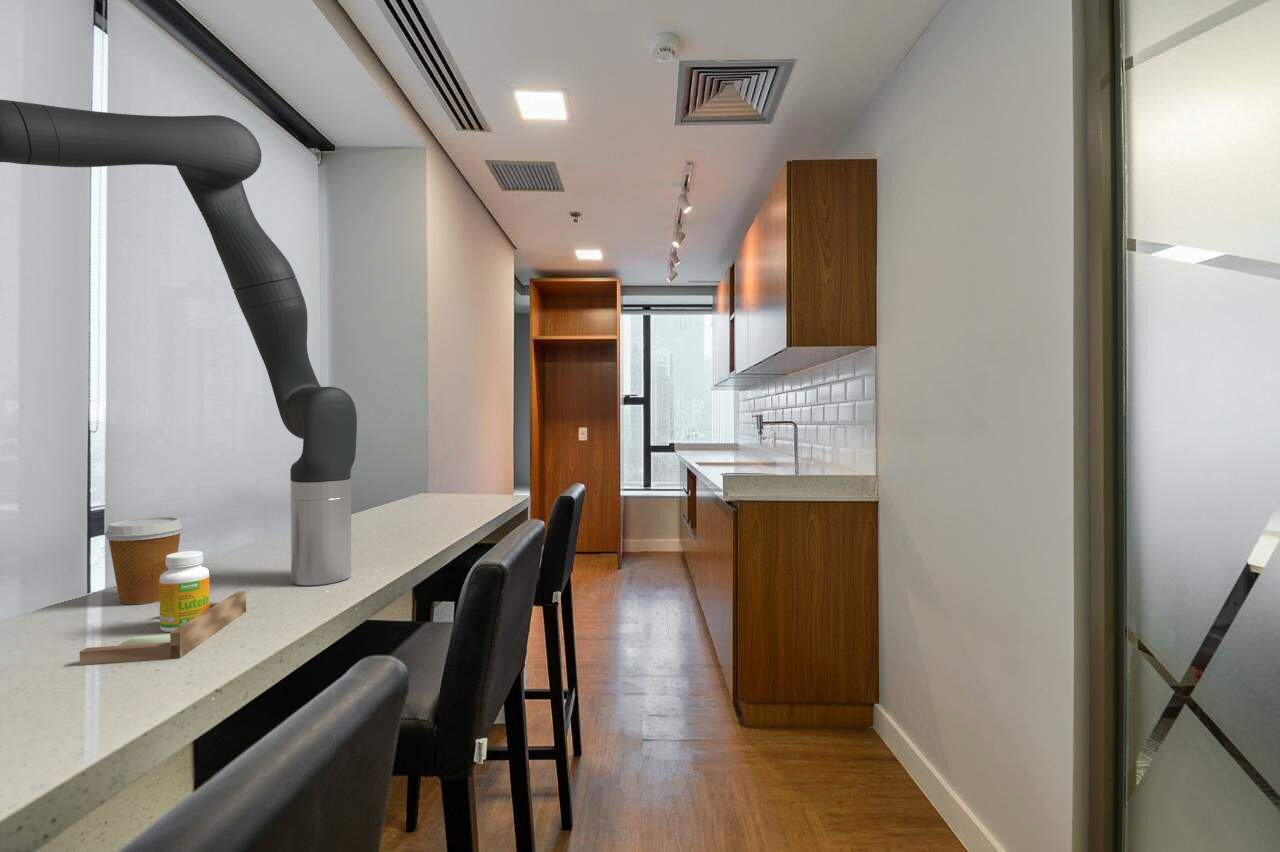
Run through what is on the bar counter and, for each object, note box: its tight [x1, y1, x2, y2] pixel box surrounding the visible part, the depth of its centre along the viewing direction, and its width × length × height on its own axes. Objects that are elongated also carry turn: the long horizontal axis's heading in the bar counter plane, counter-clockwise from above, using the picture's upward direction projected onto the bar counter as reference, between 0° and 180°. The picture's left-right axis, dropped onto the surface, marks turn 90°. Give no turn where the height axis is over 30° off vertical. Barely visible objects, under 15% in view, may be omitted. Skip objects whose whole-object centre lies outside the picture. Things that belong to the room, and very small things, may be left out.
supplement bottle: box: [159, 550, 211, 633], centre depth 82 cm, size 5×5×10 cm
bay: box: [79, 590, 247, 666], centre depth 78 cm, size 17×10×3 cm, turn 11°
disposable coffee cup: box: [103, 516, 185, 605], centre depth 94 cm, size 10×10×12 cm
